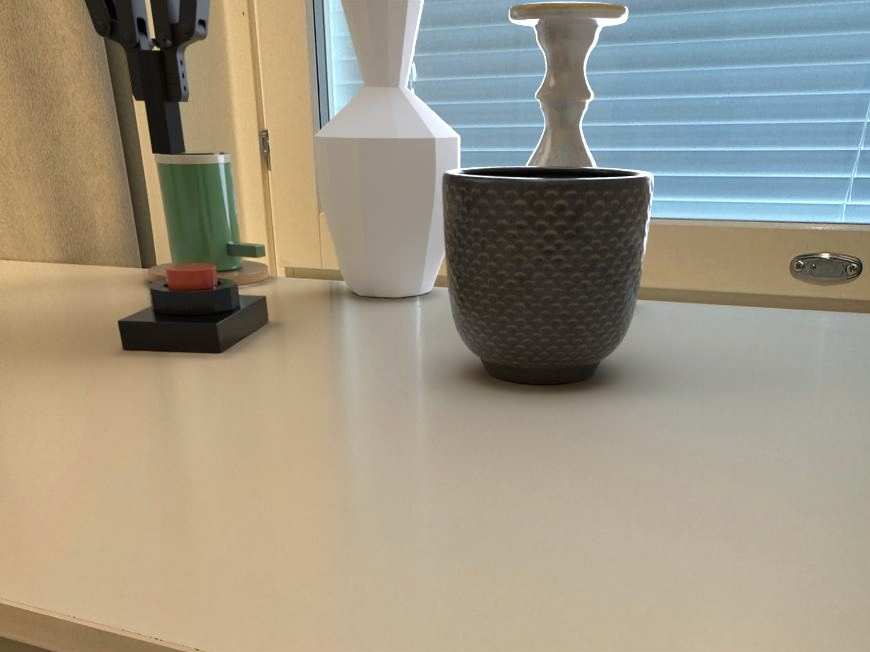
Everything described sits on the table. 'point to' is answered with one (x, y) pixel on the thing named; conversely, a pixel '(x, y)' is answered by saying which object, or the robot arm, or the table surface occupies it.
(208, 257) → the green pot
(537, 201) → the planter
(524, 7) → the candle holder
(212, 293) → the black base
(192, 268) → the timer button
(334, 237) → the vase
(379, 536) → the table surface
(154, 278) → the trivet
